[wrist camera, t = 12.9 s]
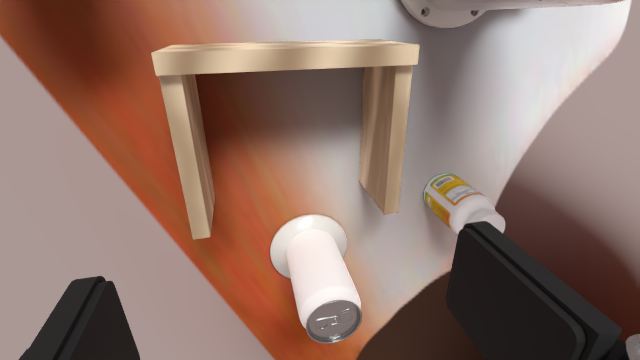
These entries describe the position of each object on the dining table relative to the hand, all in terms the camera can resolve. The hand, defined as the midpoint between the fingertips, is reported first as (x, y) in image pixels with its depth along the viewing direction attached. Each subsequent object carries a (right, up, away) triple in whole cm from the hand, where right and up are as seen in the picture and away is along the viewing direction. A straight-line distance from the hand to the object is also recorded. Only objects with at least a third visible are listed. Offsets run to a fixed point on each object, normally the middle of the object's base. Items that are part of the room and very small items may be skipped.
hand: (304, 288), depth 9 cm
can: (-1, -6, +34) cm, 35 cm away
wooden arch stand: (-3, +8, +27) cm, 29 cm away
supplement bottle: (+16, +2, +36) cm, 39 cm away
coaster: (-1, -6, +34) cm, 35 cm away
